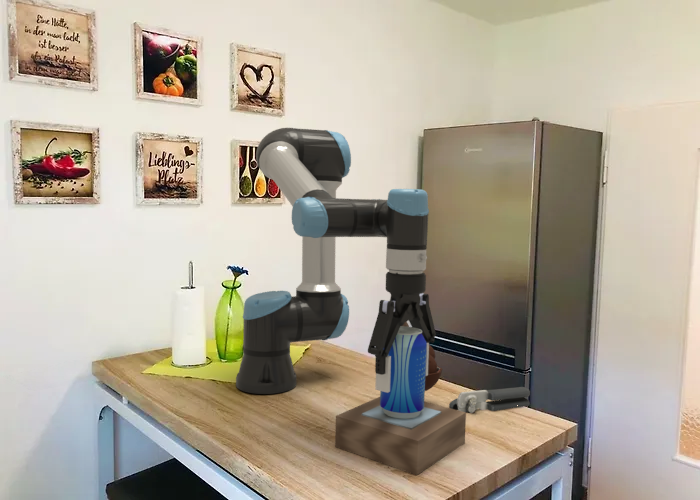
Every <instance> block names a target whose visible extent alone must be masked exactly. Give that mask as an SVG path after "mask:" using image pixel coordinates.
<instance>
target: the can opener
mask: <svg viewBox="0 0 700 500" xmlns="http://www.w3.org/2000/svg"><path fill="white" fill-rule="evenodd" d="M530 395H531V391H530V389H529V388H528V387H524V386H518V387H508V388H507V387H506V388H498V389H497V388H496V389H495V388H494V389H488V390H487V389H483V390H482V389H481V390H471V391H470V390H469V391H461V392H460V393H459V394H458V397H457V398H454V399H453V400H452V401H450V402H449V404H448V408H451V409H455V410H458V411H462V412H466V414H474V413H475V411H477V410H478V409H479V410H481V411H486V410H489V411H490V412H496V411H497V412H498V411H503V410H510V409H517V408H523V407H529V406H530V401H529V399H528V398H527V397H530ZM489 400H490V401H489ZM517 405H518V406H517Z"/></svg>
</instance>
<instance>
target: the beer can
mask: <svg viewBox="0 0 700 500" xmlns="http://www.w3.org/2000/svg"><path fill="white" fill-rule="evenodd" d="M426 347H427V343H426V341H425V339H424V337H423V335H422V330H421V329H418V328H414V327H412V326H409V327H403V326H400V328H399V331H398V333H397V335H396V338H395V340H394V342H393V345H392V347H391V349H390V351H389V354H388V356H391V373H390V392H388V393H387V392H383V391H379V393H380V394H379V397H380V406H381V408H382V409H383V411H384V413H385V414H386V415H388V416H390V417H393V418H399V419H410V418H415V417H417V416H419V415H420V412H421V411H422V410H423V409H424V402H425V398H426V397H425V392H426V391H425V372H426ZM383 350H384V349H383Z"/></svg>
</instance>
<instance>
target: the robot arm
mask: <svg viewBox="0 0 700 500" xmlns="http://www.w3.org/2000/svg"><path fill="white" fill-rule="evenodd" d="M255 152H256V153H255V157H256V158H255V159H256V164H257V166H258V168H259V170H260V171H261V173H262V174H263V175H264V176H265V177H267V178H268V179H270V180H273V182H274V183H275V185H276V186H277V187H278V189H279V190H280V191H281V192H282V194H283V195H284V196H285V198H286V199H287V201H288V203H290V205H291V207H292V209H291V223H292V224H291V225H292V226H293V227H292V229H293V231H294V232H295V234H296V235H297V236H299V237H302V241H301V243H302V244H301V245H302V247H301V248H302V249H301V250H302V253H301V255H302V257H301V260H302V261H301V263H302V264H301V271H302V272H301V283H300V284H299V285H298V286H297V287H295V288H296V289H295V295H294V296H292V295H291V292H290V291H288V290H277V291H276V290H272V291H271V290H270V291H264V292H259V293H258V292H257V293H255V294H252V295H250V296H249V297H247V298H246V299H245V300H244V304H243V305H244V306H243V314H242V318H243V339H242V341H243V346H242V347H243V348H242V349H243V353H242V354H243V355H242V359H241V363H240V366H239V371H238V372H237V373H236V378H235V386H236V388H237V389H239V390H240V391H242V392H246V393H250V394H259V395H262V394H263V395H268V394H269V395H270V394H271V395H272V394H280V393H285V392H288V391H290V390H292V389H294V388H295V387H297V373H296V371H295V369H294V365H293V360H292V357H291V343H299V342H308V341H327V340H331V339H332V340H333V339H337V338H340V337H341V336H342V335H343V334H344V332H345V331H346V329H347V326H348V324H349V320H350V319H349V317H350V306H349V301H348V298H347V297H346V296H345V295H344V294H343V293H341V292H342V290H341V289H342V288H341V287H340V286H339V285H338V284H337V282H336V238H346V237H347V238H386V251H385V252H386V255H385V259H386V260H385V268H386V269H387V270H388V271H387V272H386V274H385V291H386V292H388V293H389V294H390V299H389V300H385V299H380V301H379V303H378V304H379V306H378V313H377V317H376V320H375V324H374V327H373V331H372V333H371V338H370V341H369V345H368V346H367V353H368V354H370V355H374V357H375V362H374V363H375V364H374V365H375V366H374V367H375V368H374V370H375V371H374V372H375V386H374V387H375V390H376V391H379V392H380V391H383V392H387V393H388V392H390V373H391V356H388V354H389V351H390V349H391V347H392V345H393V342H394V340H395V338H396V335H397V333H398V331H399V328H400V326H402V325H404V323H405V322H407V323H408V322H409V324H410V325H411V326H410V327H414V328H418V329H421V330H422V335H423V337H424V339H425V341H426V343H427V347H426V372H425V376H427V375H428V358H429V345H430V343H432V344H433V343H434V342H435V338H436V336H437V333H436V328H435V324H434V321H433V315H432V311H431V308H430V296H429V293H426V289H427V288H426V287H427V282H426V281H427V274H425V272H424V271H426V270H427V260H428V256H427V249H428V247H427V246H428V232H429V231H428V229H429V213H430V209H429V200H428V198H429V196H428V192H427V191H426V190H424V189H418V188H417V189H416V188H393V189H390V190H389V192H388V195H387V199H380V198H378V199H376V198H375V199H374V198H372V199H370V198H367V199H366V198H364V199H362V198H337V190H338V188H340V186H341V185H342V184H343V178H345V177H347V176H348V175H349V173H350V168H351V165H352V154H351V148H350V145H349V143H348V141H347V139H346V137H345V136H344V135H343V134H341V133H340V132H337V131H332V130H328V129H324V130H322V129H308V128H296V127H295V128H294V127H281V128H277V129H274V130H272V131H270V132H269V133H267V134H266V135H265V136H263V137H262V139H261V140H260V142H259V144H258V146H257V149H256V151H255ZM393 316H394V318H393ZM383 349H384V350H383Z"/></svg>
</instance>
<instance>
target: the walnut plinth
mask: <svg viewBox="0 0 700 500" xmlns="http://www.w3.org/2000/svg"><path fill="white" fill-rule="evenodd" d="M466 422H467V412H462V411H458V410H455V409H451V408H449V407H446V406H443V405H438V404H434V403H430V402H426V401H424V409H423V410H422V411H421V412H420V415H419V416H417V417H415V418H410V419H399V418H393V417H390V416H388V415H386V414H385V413H384V411H383V409H382V408H381V406H380V396H378V397H376V398H374V399H371V400H369V401H366V402H365V403H362V404H360V405H358V406H355V407H353V408H351V409H348V410H346V411H344V412H341V413H339V414H337V415H335V430H334V433H335V434H334V435H335V438H334V439H335V440H334V441H335V442H334V446H335V448H338V449H341V450H344V451H346V452H349V453H353V454H355V455H358V456H361V457H364V458H366V459H369V460H372V461H375V462H378V463H381V464H384V465H387V466H389V467H392V468H396V469H397V470H401V471H404V472H407V473H410V474H413V475H416V476H418V475H420V474H421V473H422V472H423V471H425V470H427V469H428V468H430V467H431V466H433V465H435V464H436V463H437V462H439V461H440V460H441V459H443V458H444V457H446V456H447V455H449V454H450V453H452V452H454V451H455V450H456V449H458V448H459V447H461V446H462V445H464V444H465V443H466Z"/></svg>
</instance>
